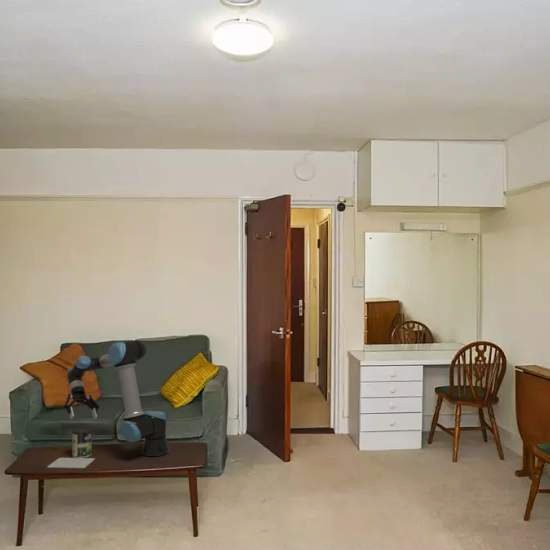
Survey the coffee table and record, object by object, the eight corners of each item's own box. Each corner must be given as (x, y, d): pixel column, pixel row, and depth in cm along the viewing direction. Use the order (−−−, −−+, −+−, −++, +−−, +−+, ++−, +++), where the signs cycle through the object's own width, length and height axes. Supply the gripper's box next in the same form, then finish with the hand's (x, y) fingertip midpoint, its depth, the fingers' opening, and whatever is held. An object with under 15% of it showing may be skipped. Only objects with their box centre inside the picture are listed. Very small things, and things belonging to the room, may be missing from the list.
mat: (95, 459, 286) (95, 458, 286) (84, 468, 272) (84, 467, 272) (59, 458, 288) (59, 457, 288) (46, 467, 274) (46, 466, 274)
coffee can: (95, 452, 297) (95, 427, 297) (85, 458, 287) (85, 433, 287) (78, 451, 299) (78, 426, 299) (68, 457, 289) (68, 432, 289)
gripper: (95, 395, 319) (102, 423, 304) (53, 392, 302) (59, 421, 288) (100, 386, 316) (107, 414, 302) (58, 383, 300) (64, 412, 285)
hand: (84, 418), depth 295 cm, fingers open, 13 cm apart
